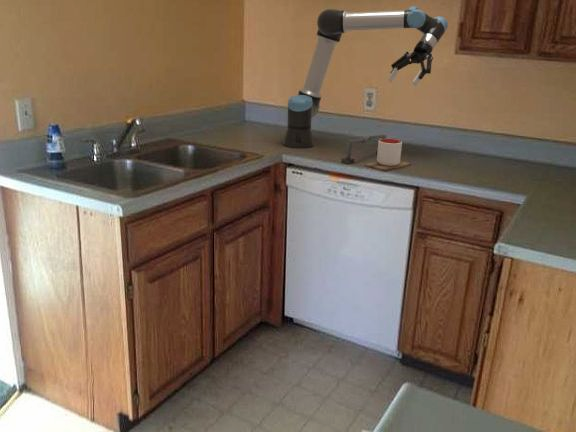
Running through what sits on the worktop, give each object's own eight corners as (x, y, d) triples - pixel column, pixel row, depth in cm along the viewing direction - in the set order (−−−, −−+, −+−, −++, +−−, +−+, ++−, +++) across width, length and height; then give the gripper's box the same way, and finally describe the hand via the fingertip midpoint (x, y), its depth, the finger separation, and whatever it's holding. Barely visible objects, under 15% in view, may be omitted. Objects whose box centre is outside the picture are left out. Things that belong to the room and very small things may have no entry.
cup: (399, 167, 230) (402, 144, 227) (375, 165, 232) (377, 142, 229) (399, 161, 240) (402, 139, 236) (377, 160, 241) (379, 137, 238)
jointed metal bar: (340, 162, 239) (342, 140, 235) (380, 153, 256) (382, 133, 253) (348, 164, 235) (350, 142, 232) (388, 155, 253) (390, 135, 250)
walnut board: (364, 166, 234) (364, 164, 234) (390, 160, 246) (390, 158, 245) (385, 171, 226) (385, 169, 226) (410, 165, 238) (410, 163, 238)
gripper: (451, 54, 240) (428, 91, 236) (405, 50, 257) (382, 84, 253) (446, 42, 235) (422, 79, 230) (399, 38, 252) (376, 73, 248)
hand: (401, 82), depth 242 cm, fingers open, 13 cm apart
